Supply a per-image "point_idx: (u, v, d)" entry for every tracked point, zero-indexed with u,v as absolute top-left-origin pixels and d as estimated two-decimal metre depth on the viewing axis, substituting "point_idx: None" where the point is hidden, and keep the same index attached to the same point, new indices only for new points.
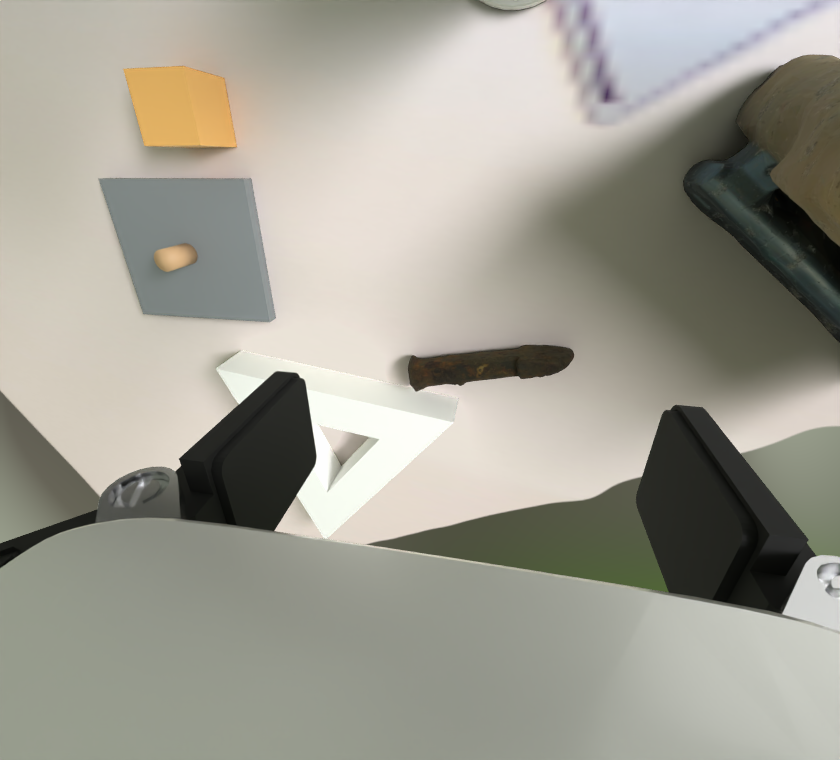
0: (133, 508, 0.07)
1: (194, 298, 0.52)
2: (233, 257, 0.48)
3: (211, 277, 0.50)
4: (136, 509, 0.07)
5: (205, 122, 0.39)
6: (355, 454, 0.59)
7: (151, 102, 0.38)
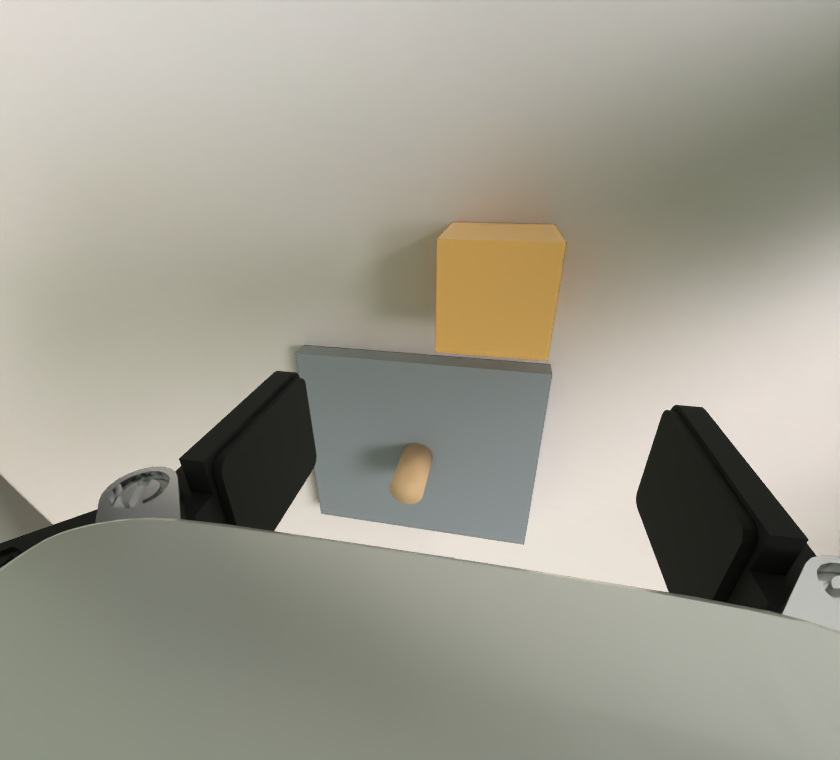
0: (133, 508, 0.07)
1: (408, 506, 0.35)
2: (493, 467, 0.31)
3: (446, 486, 0.33)
4: (136, 509, 0.07)
5: None
6: None
7: (474, 292, 0.21)
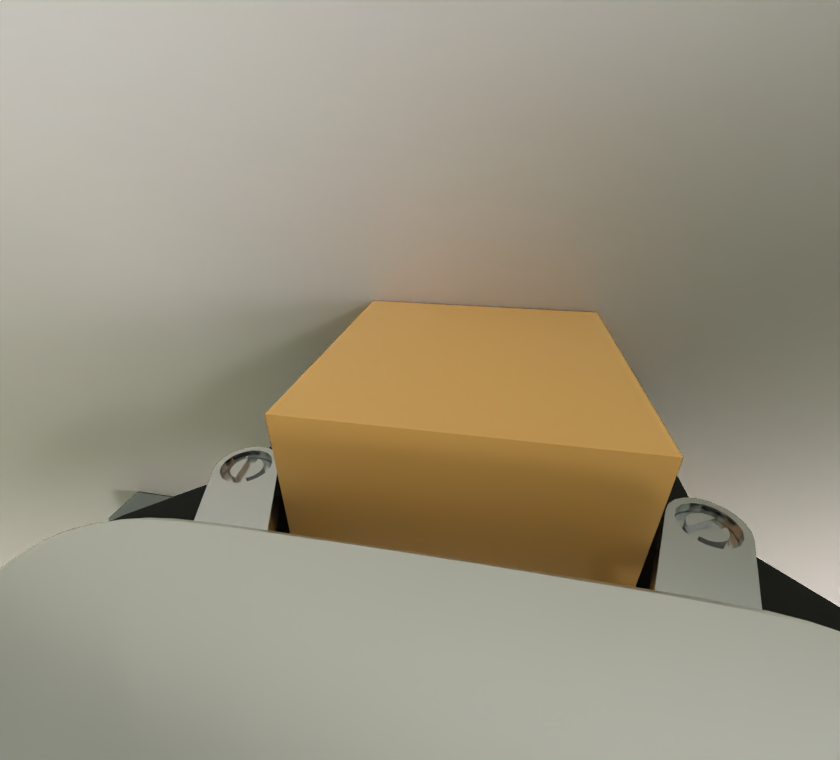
0: (237, 483, 0.07)
1: None
2: None
3: None
4: (239, 485, 0.07)
5: None
6: None
7: (393, 546, 0.07)
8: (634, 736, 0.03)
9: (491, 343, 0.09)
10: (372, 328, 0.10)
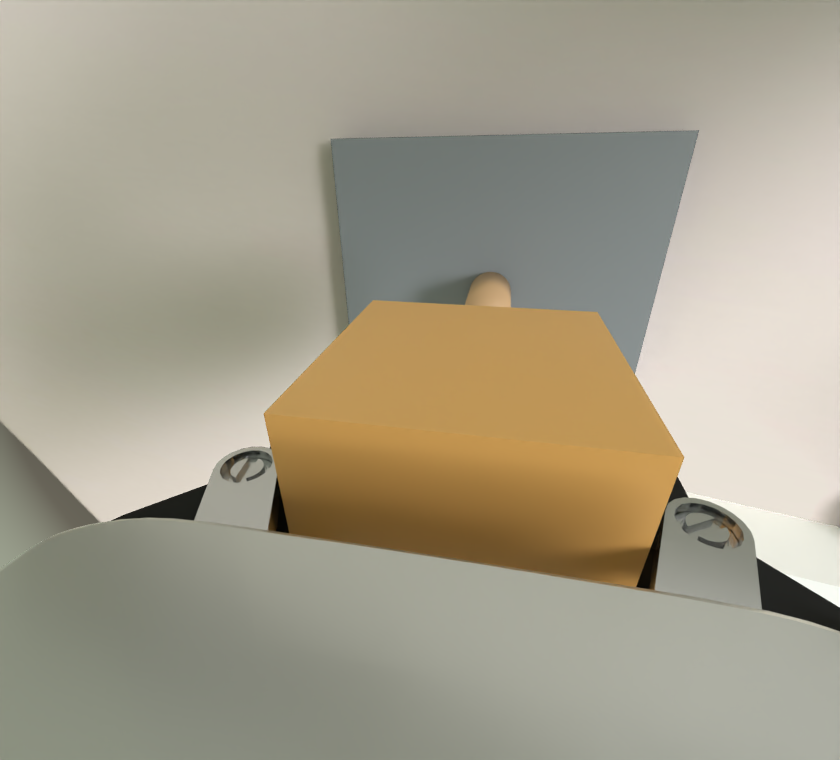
0: (237, 483, 0.07)
1: None
2: (593, 300, 0.23)
3: None
4: (239, 485, 0.07)
5: None
6: None
7: (392, 546, 0.07)
8: (634, 736, 0.03)
9: (491, 342, 0.09)
10: (372, 328, 0.10)
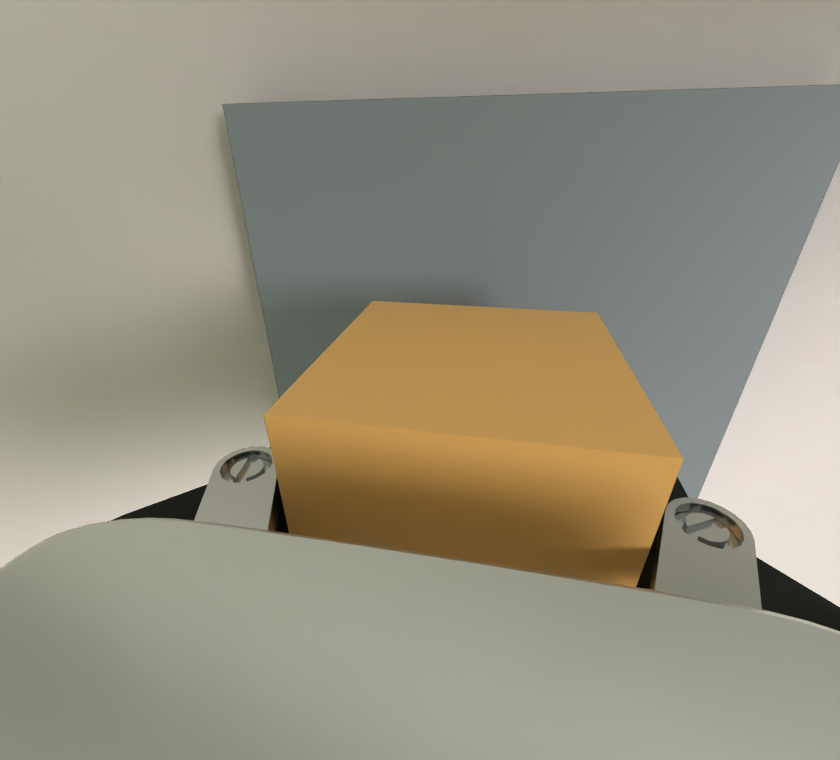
0: (237, 483, 0.07)
1: None
2: (650, 368, 0.15)
3: None
4: (239, 485, 0.07)
5: None
6: None
7: (392, 547, 0.07)
8: (634, 736, 0.03)
9: (491, 343, 0.09)
10: (371, 328, 0.10)
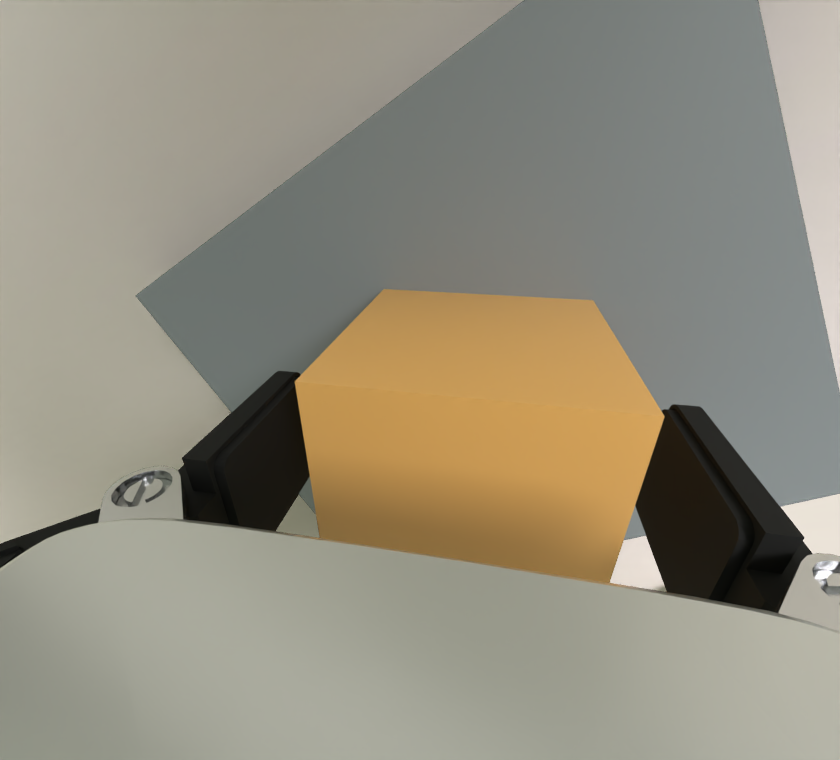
0: (136, 507, 0.07)
1: None
2: (673, 315, 0.11)
3: None
4: (139, 508, 0.07)
5: None
6: None
7: (406, 504, 0.08)
8: (634, 736, 0.03)
9: (495, 325, 0.10)
10: (385, 312, 0.10)
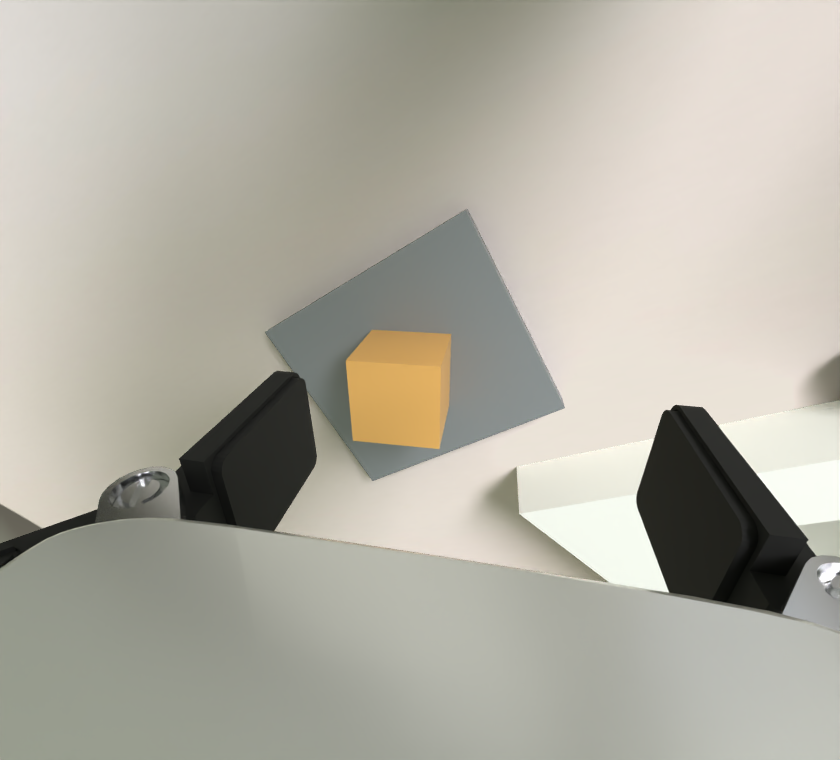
0: (133, 508, 0.07)
1: None
2: (480, 339, 0.30)
3: (454, 386, 0.32)
4: (136, 509, 0.07)
5: (442, 412, 0.28)
6: None
7: (378, 398, 0.27)
8: (634, 736, 0.03)
9: (409, 344, 0.28)
10: (372, 339, 0.29)
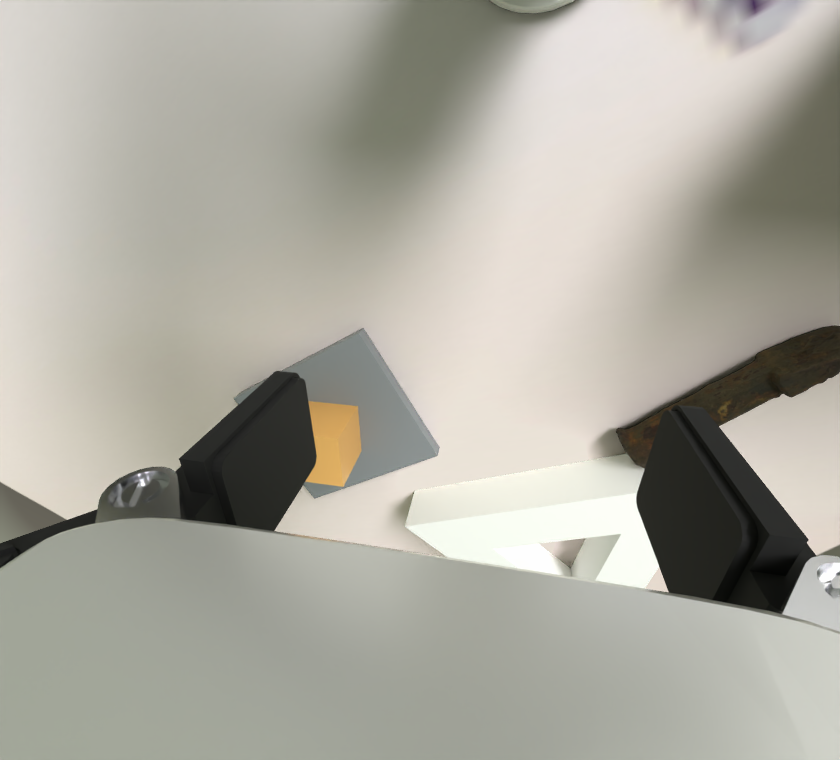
0: (133, 508, 0.07)
1: (355, 465, 0.48)
2: (377, 410, 0.44)
3: (363, 438, 0.46)
4: (136, 509, 0.07)
5: (346, 462, 0.42)
6: (585, 552, 0.48)
7: None
8: (635, 736, 0.03)
9: (325, 416, 0.43)
10: None
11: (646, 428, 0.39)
